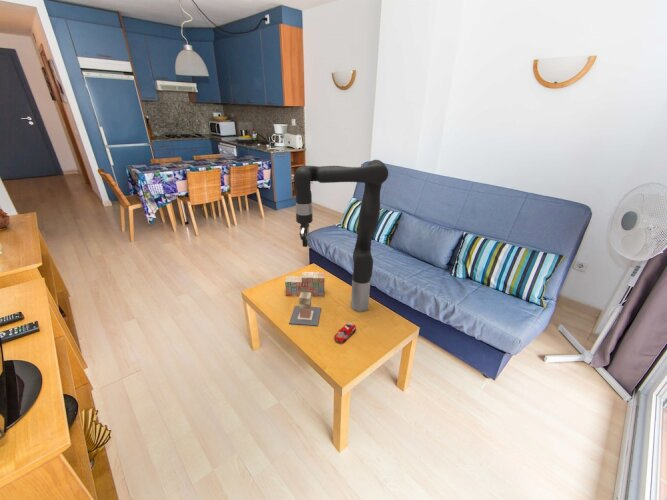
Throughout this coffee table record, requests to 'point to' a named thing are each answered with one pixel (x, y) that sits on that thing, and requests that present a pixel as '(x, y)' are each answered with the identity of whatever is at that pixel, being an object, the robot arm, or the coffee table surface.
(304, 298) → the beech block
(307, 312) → the block
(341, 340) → the race car
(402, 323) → the coffee table surface
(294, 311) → the board
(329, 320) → the coffee table surface
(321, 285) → the stack of blocks
